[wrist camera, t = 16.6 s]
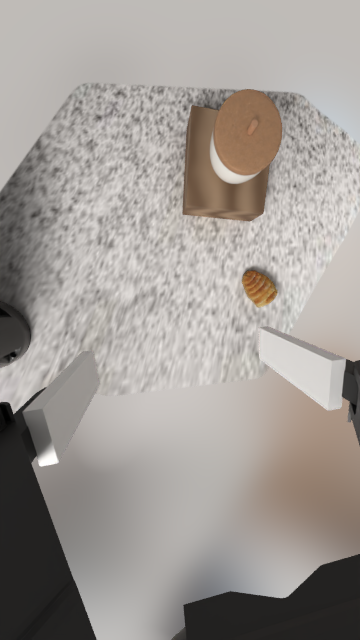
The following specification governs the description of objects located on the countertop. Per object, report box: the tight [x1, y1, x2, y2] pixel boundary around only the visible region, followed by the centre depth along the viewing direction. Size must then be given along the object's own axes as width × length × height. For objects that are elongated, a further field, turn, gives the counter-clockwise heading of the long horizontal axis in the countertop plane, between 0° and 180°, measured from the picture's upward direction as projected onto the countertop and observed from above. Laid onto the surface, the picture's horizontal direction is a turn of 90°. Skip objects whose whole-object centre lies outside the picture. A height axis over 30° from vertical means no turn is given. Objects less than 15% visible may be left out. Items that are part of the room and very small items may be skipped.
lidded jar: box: [210, 89, 282, 184], centre depth 32 cm, size 11×11×9 cm
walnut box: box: [183, 105, 270, 221], centre depth 39 cm, size 16×16×6 cm
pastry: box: [242, 270, 277, 307], centre depth 46 cm, size 9×7×4 cm
